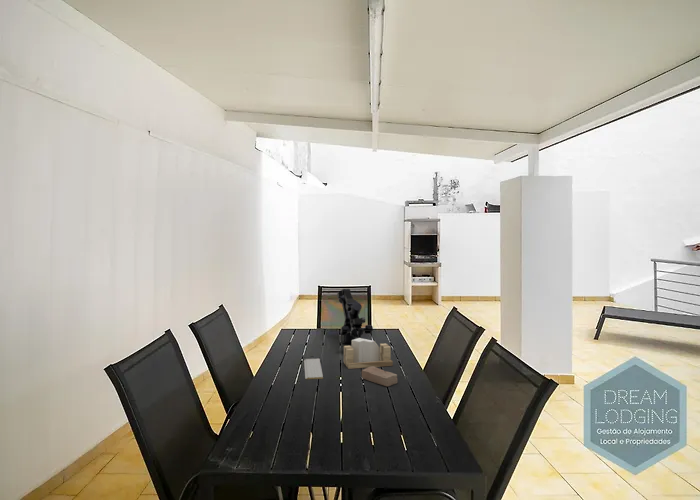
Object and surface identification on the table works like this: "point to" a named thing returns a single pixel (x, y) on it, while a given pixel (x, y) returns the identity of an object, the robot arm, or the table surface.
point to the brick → (379, 376)
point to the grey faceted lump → (365, 350)
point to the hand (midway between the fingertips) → (359, 342)
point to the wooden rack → (384, 357)
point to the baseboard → (313, 369)
